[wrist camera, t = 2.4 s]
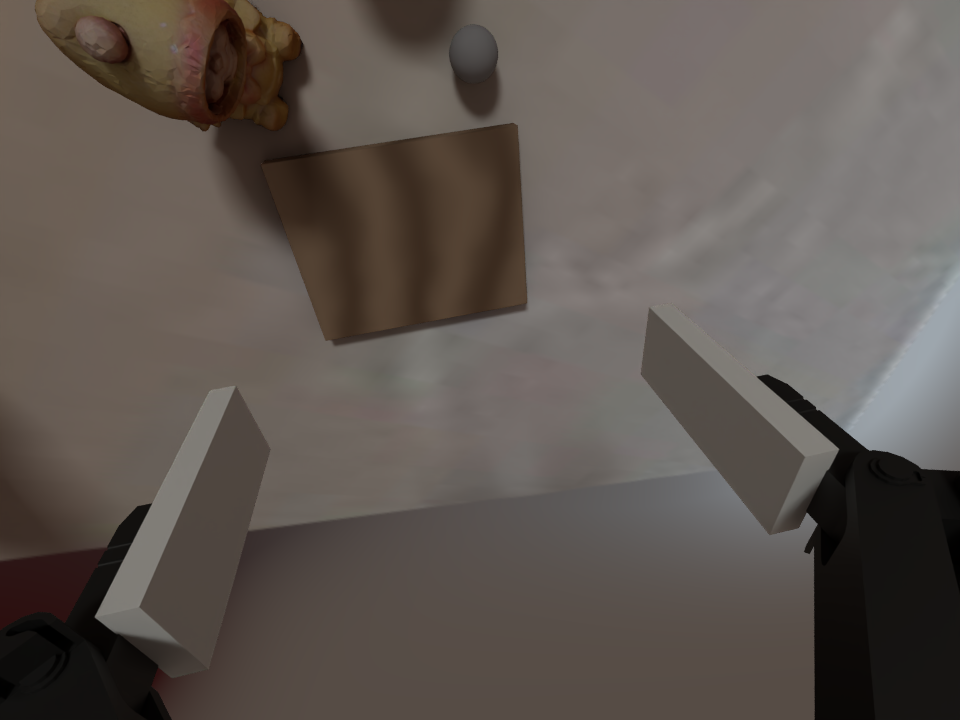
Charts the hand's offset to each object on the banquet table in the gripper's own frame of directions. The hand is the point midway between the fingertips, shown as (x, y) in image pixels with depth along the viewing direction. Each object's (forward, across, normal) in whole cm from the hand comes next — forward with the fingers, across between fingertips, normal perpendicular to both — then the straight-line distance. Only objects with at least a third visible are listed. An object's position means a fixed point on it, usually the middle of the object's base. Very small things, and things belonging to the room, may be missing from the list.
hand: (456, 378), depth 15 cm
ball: (+29, +6, +8) cm, 30 cm away
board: (+29, -1, -5) cm, 29 cm away
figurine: (+29, -11, +10) cm, 32 cm away
